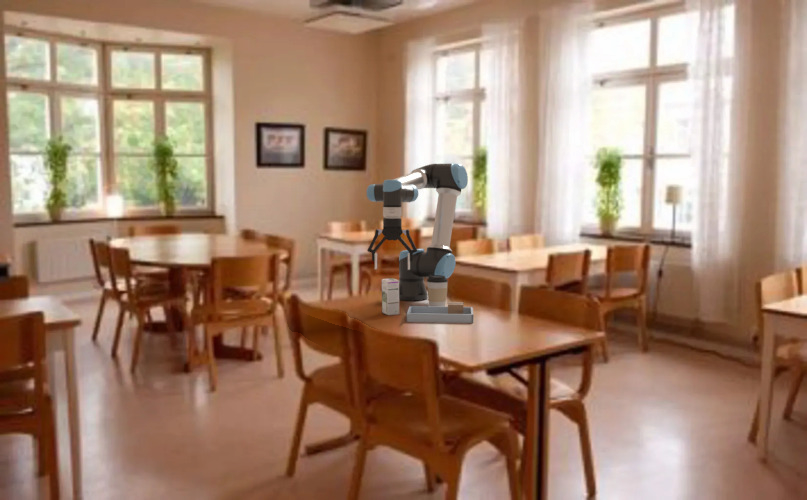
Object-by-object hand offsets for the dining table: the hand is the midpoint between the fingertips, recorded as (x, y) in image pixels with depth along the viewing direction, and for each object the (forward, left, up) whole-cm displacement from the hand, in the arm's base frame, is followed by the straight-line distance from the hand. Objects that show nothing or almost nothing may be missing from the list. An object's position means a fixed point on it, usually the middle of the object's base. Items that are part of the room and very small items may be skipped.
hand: (392, 269), depth 279 cm
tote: (+11, +20, -19) cm, 30 cm away
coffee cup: (-10, +18, -19) cm, 28 cm away
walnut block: (+11, +26, -18) cm, 34 cm away
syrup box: (0, -1, -19) cm, 19 cm away
